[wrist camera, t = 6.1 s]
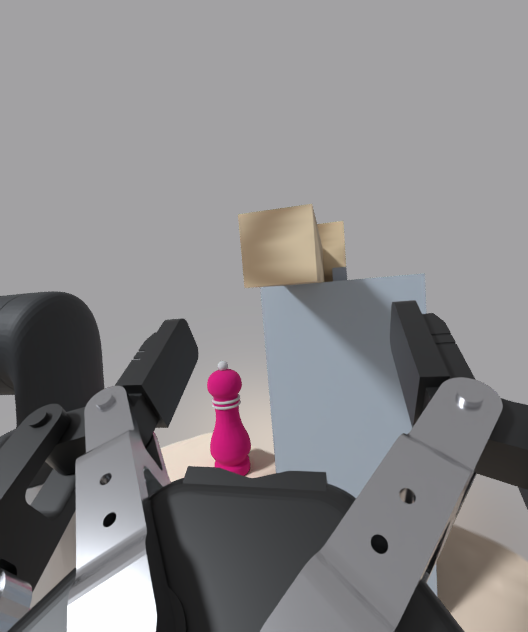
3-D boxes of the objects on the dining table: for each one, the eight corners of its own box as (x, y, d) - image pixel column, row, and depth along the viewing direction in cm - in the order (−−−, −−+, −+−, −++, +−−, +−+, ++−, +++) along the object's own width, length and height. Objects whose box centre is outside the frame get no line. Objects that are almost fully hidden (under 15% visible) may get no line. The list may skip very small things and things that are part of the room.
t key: (203, 291, 16) (191, 171, 15) (279, 286, 39) (275, 238, 39) (365, 277, 14) (358, 141, 14) (344, 280, 37) (341, 230, 37)
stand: (287, 602, 31) (259, 274, 28) (298, 521, 42) (279, 277, 39) (438, 624, 28) (424, 258, 25) (409, 530, 39) (396, 266, 36)
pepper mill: (237, 454, 61) (228, 354, 59) (261, 468, 55) (251, 359, 53) (205, 470, 56) (193, 362, 54) (227, 488, 51) (215, 368, 49)
